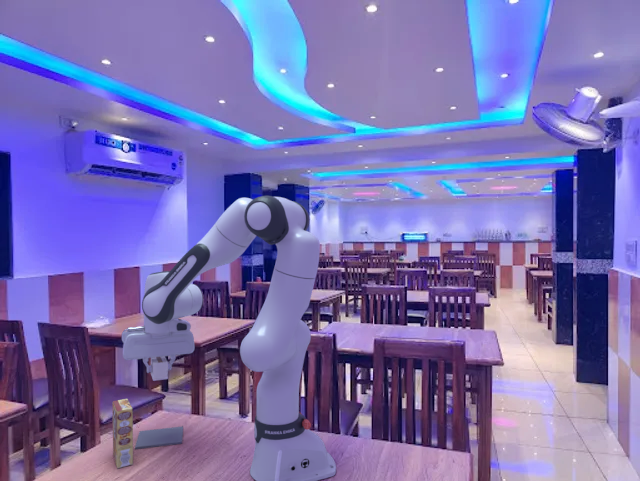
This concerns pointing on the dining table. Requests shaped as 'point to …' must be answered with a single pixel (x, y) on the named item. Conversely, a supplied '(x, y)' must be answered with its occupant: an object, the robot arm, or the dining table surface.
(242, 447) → the dining table surface
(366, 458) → the dining table surface
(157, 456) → the dining table surface
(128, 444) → the candy box
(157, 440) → the mat
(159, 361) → the block
